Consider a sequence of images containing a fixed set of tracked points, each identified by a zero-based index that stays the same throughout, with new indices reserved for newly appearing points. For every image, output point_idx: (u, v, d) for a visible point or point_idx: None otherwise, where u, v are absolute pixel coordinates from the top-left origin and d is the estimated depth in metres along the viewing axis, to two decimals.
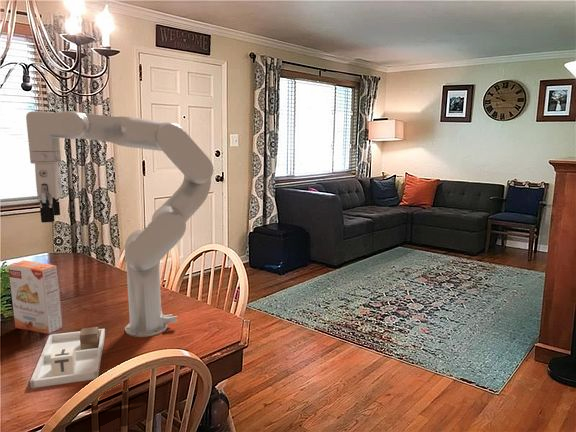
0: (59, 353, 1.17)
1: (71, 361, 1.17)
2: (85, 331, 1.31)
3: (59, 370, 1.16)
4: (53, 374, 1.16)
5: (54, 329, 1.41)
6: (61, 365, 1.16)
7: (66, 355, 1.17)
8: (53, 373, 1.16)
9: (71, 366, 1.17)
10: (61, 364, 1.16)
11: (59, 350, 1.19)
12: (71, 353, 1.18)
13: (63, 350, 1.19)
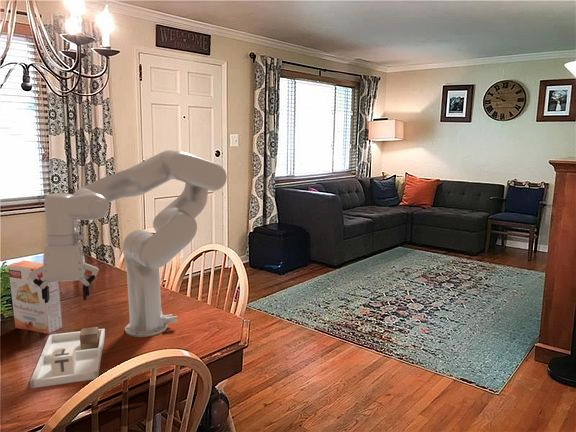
0: (59, 353, 1.17)
1: (71, 361, 1.17)
2: (85, 331, 1.31)
3: (59, 370, 1.16)
4: (53, 374, 1.16)
5: (54, 329, 1.41)
6: (61, 365, 1.16)
7: (66, 355, 1.17)
8: (53, 373, 1.16)
9: (71, 366, 1.17)
10: (61, 364, 1.16)
11: (59, 350, 1.19)
12: (71, 353, 1.18)
13: (63, 350, 1.19)
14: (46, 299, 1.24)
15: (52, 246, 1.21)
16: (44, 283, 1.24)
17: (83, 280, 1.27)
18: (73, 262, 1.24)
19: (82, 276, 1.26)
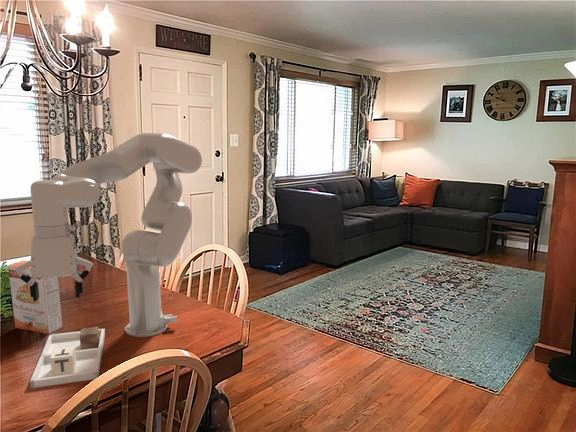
0: (59, 353, 1.17)
1: (71, 361, 1.17)
2: (85, 331, 1.31)
3: (59, 370, 1.16)
4: (53, 374, 1.16)
5: (54, 329, 1.41)
6: (61, 365, 1.16)
7: (66, 355, 1.17)
8: (53, 373, 1.16)
9: (71, 366, 1.17)
10: (61, 364, 1.16)
11: (59, 350, 1.19)
12: (71, 353, 1.18)
13: (63, 350, 1.19)
14: (35, 297, 1.13)
15: (40, 238, 1.09)
16: (32, 279, 1.12)
17: (75, 276, 1.15)
18: (64, 256, 1.12)
19: (74, 271, 1.14)
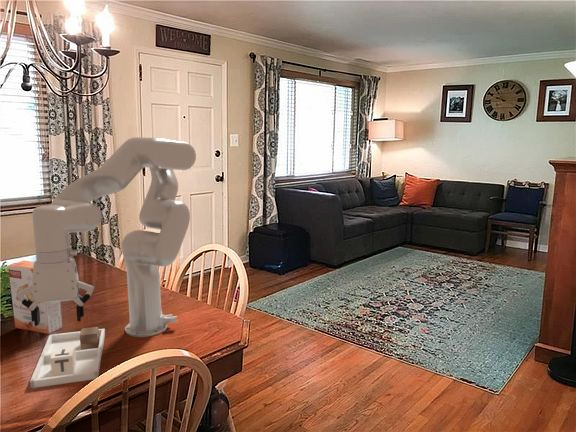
0: (59, 353, 1.17)
1: (71, 361, 1.17)
2: (85, 331, 1.31)
3: (59, 370, 1.16)
4: (53, 374, 1.16)
5: (54, 329, 1.41)
6: (61, 365, 1.16)
7: (66, 355, 1.17)
8: (53, 373, 1.16)
9: (71, 366, 1.17)
10: (61, 364, 1.16)
11: (59, 350, 1.19)
12: (71, 353, 1.18)
13: (63, 350, 1.19)
14: (36, 322, 1.13)
15: (42, 264, 1.10)
16: (34, 304, 1.12)
17: (77, 300, 1.15)
18: (65, 281, 1.13)
19: (75, 296, 1.14)
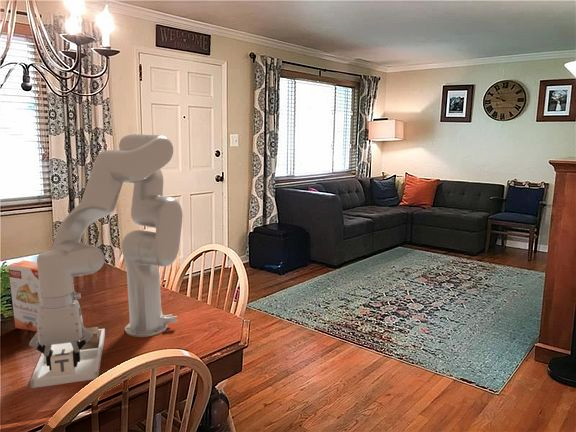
0: (59, 353, 1.17)
1: (71, 361, 1.17)
2: None
3: (59, 370, 1.16)
4: (53, 374, 1.16)
5: None
6: (61, 365, 1.16)
7: (66, 355, 1.17)
8: (53, 373, 1.16)
9: (71, 366, 1.17)
10: (61, 364, 1.16)
11: (59, 350, 1.19)
12: (71, 353, 1.18)
13: (63, 350, 1.19)
14: None
15: (46, 309, 1.12)
16: (46, 349, 1.15)
17: (75, 345, 1.17)
18: (70, 324, 1.15)
19: (80, 338, 1.17)
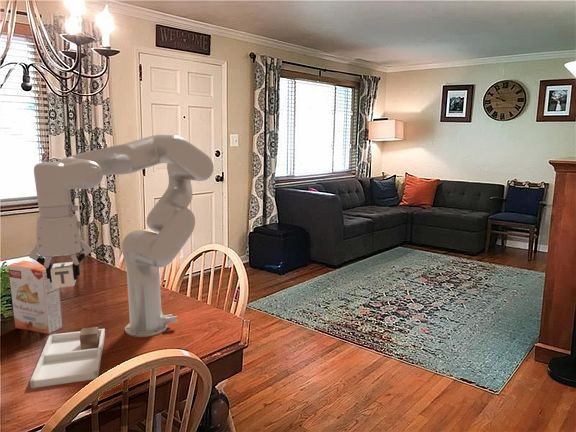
0: (59, 266, 1.19)
1: (71, 273, 1.18)
2: (85, 331, 1.31)
3: (59, 282, 1.18)
4: (54, 286, 1.18)
5: (54, 329, 1.41)
6: (61, 277, 1.18)
7: (65, 267, 1.18)
8: (54, 285, 1.18)
9: (71, 278, 1.19)
10: (61, 275, 1.18)
11: (59, 264, 1.21)
12: (71, 266, 1.19)
13: (63, 264, 1.20)
14: None
15: (45, 218, 1.13)
16: (46, 261, 1.17)
17: (74, 258, 1.19)
18: (68, 235, 1.16)
19: (79, 250, 1.18)
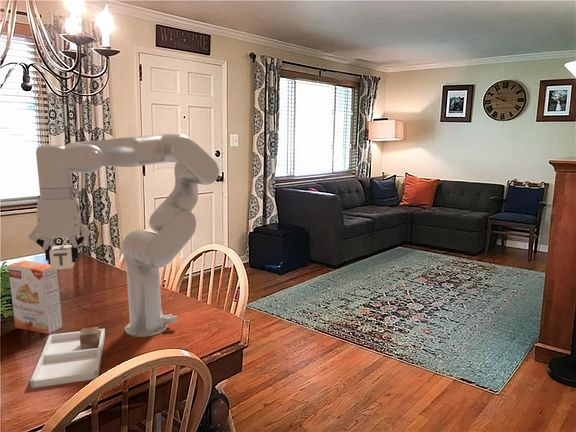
0: (58, 248, 1.20)
1: (70, 255, 1.20)
2: (85, 331, 1.31)
3: (58, 264, 1.19)
4: (52, 267, 1.19)
5: (54, 329, 1.41)
6: (60, 258, 1.19)
7: (64, 249, 1.20)
8: (52, 266, 1.19)
9: (69, 260, 1.20)
10: (60, 257, 1.19)
11: (58, 246, 1.22)
12: (69, 248, 1.20)
13: (62, 246, 1.22)
14: None
15: (45, 200, 1.15)
16: (45, 243, 1.18)
17: (73, 240, 1.20)
18: (68, 217, 1.18)
19: (78, 232, 1.20)
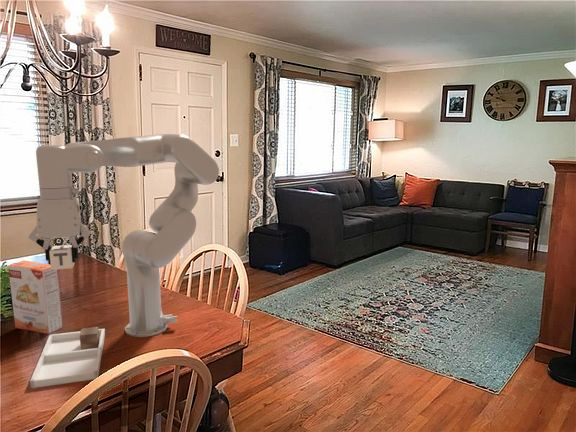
0: (58, 248, 1.20)
1: (70, 255, 1.20)
2: (85, 331, 1.31)
3: (58, 264, 1.19)
4: (52, 267, 1.19)
5: (54, 329, 1.41)
6: (60, 258, 1.19)
7: (64, 249, 1.20)
8: (52, 266, 1.19)
9: (69, 260, 1.20)
10: (60, 257, 1.19)
11: (58, 246, 1.22)
12: (69, 248, 1.20)
13: (62, 246, 1.22)
14: None
15: (45, 200, 1.15)
16: (45, 243, 1.18)
17: (73, 240, 1.20)
18: (68, 217, 1.18)
19: (78, 232, 1.20)
